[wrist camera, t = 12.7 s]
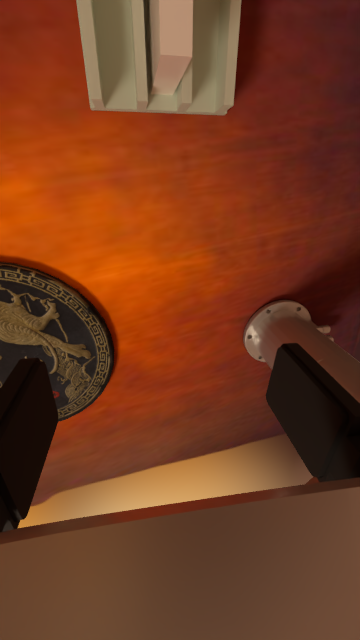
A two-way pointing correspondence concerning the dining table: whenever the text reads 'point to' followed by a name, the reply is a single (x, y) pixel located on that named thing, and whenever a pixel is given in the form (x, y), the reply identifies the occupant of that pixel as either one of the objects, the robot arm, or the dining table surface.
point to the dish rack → (134, 66)
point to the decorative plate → (54, 336)
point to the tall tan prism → (169, 42)
